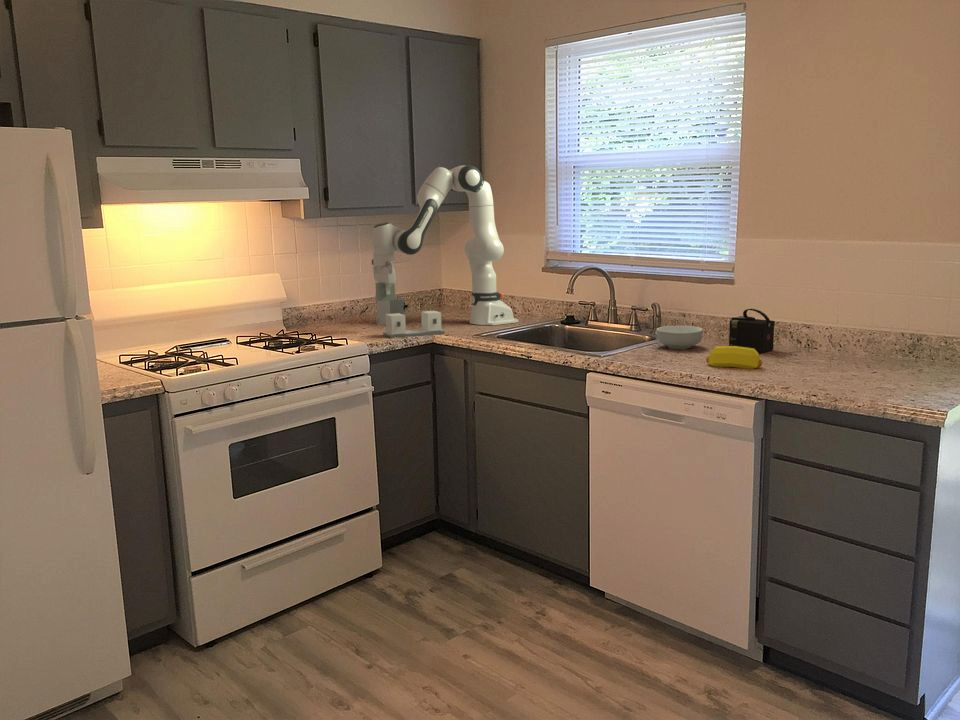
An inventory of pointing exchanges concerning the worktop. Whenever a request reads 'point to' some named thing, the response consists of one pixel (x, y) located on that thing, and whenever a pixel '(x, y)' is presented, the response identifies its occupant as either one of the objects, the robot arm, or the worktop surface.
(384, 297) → the block
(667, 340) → the cereal bowl
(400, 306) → the circuit breaker
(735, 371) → the worktop surface
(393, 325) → the rail base
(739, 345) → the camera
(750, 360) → the yellow rounded bar
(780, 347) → the worktop surface
